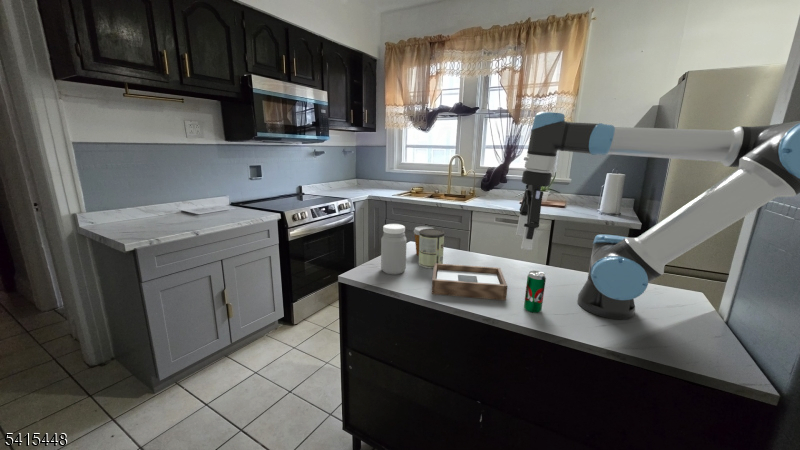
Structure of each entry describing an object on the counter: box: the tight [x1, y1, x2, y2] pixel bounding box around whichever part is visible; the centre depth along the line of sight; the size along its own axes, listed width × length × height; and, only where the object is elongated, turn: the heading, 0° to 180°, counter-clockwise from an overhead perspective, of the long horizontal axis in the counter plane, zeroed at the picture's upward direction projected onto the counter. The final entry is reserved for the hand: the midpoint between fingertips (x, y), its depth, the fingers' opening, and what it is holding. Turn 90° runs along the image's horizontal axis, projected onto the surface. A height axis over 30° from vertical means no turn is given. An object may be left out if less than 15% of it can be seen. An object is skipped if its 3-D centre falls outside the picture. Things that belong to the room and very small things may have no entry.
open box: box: [431, 263, 508, 301], centre depth 113 cm, size 24×16×5 cm, turn 81°
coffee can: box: [418, 228, 446, 269], centre depth 133 cm, size 10×10×14 cm
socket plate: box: [436, 270, 500, 284], centre depth 114 cm, size 21×13×3 cm, turn 81°
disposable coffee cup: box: [413, 225, 434, 257], centre depth 146 cm, size 10×10×12 cm
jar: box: [380, 223, 408, 275], centre depth 125 cm, size 10×10×18 cm
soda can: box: [523, 270, 547, 314], centre depth 97 cm, size 5×5×12 cm
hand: (523, 242), depth 97 cm, fingers open, 13 cm apart
